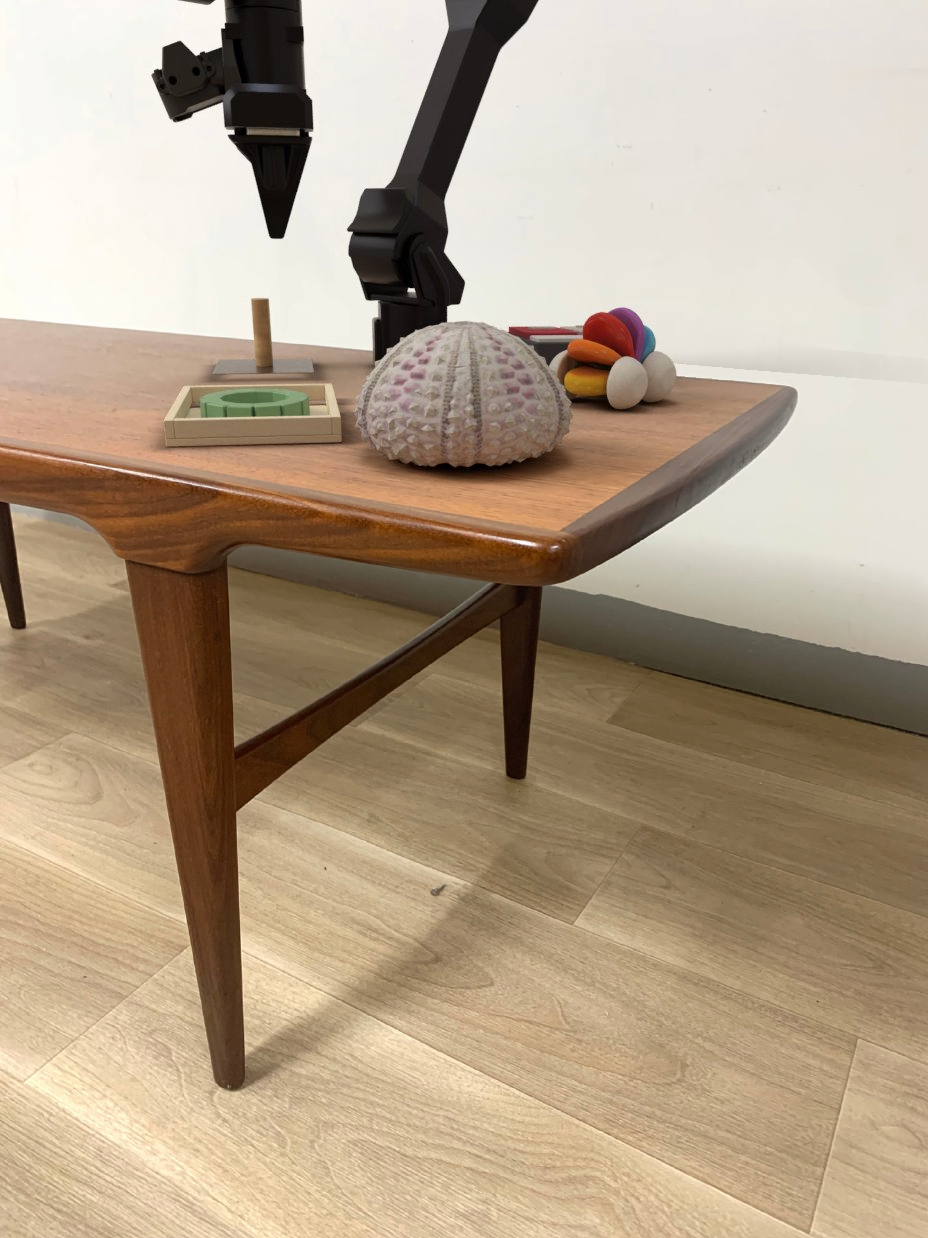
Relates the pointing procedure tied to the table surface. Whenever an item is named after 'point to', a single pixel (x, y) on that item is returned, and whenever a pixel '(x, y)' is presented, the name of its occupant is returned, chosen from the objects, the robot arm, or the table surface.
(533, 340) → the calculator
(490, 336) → the sea urchin shell
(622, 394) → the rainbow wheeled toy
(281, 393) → the ring
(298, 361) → the peg stand
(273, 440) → the tray
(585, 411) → the table surface
